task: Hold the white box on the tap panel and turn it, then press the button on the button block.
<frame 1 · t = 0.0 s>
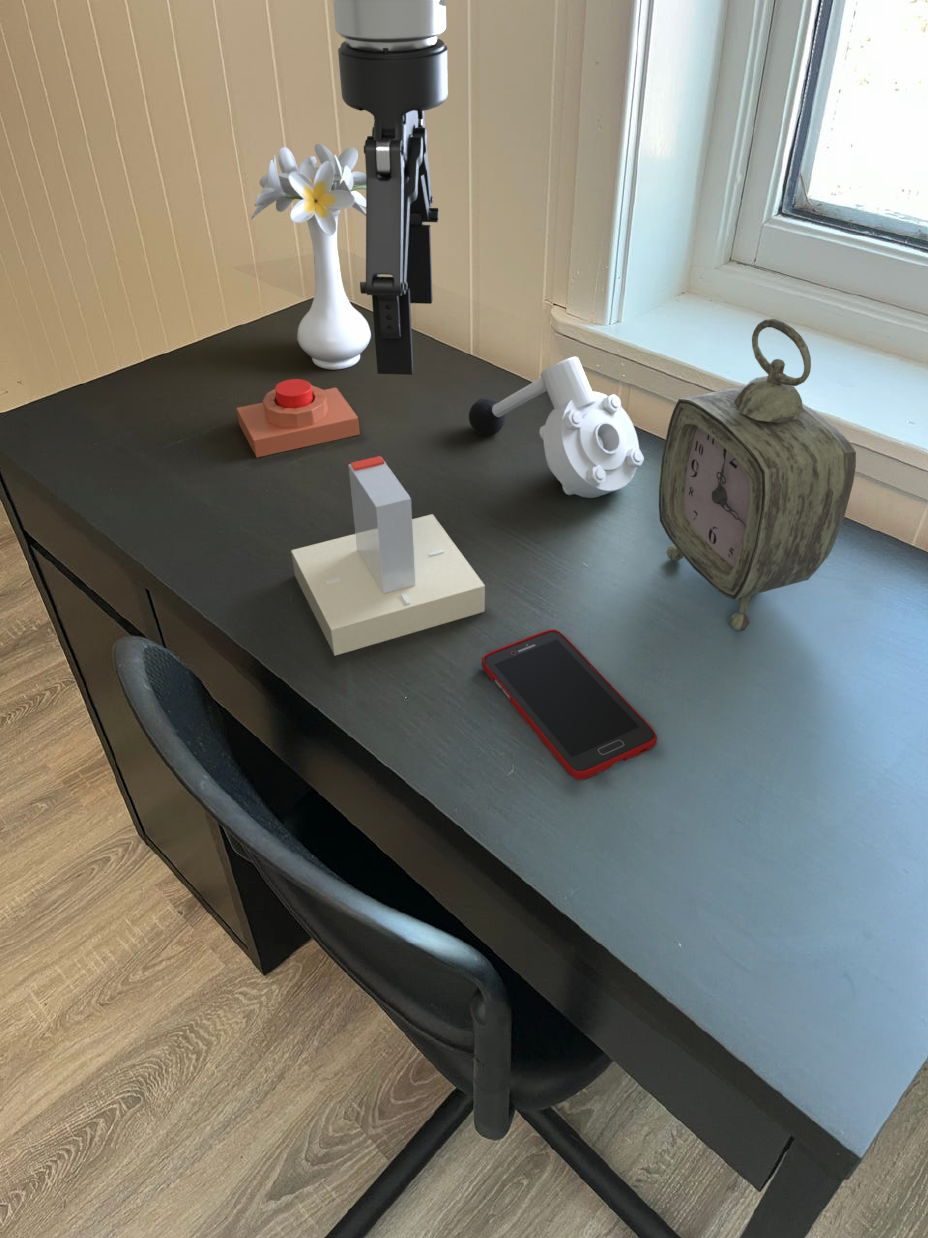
hand: (406, 334, 78), 21 cm above the table, tool pointing down, fingers open, 13 cm apart
flower vase: (338, 358, 123), on the table
button: (294, 394, 106), point 4 cm above the table, slide at 0.1 cm
white box: (382, 524, 81), point 8 cm above the table, hinge at 90.0°
button block: (299, 429, 108), on the table
tabletop clock: (730, 588, 87), on the table
tap panel: (387, 593, 86), on the table
mechanical valve: (541, 464, 103), on the table
cell phone: (564, 705, 75), on the table
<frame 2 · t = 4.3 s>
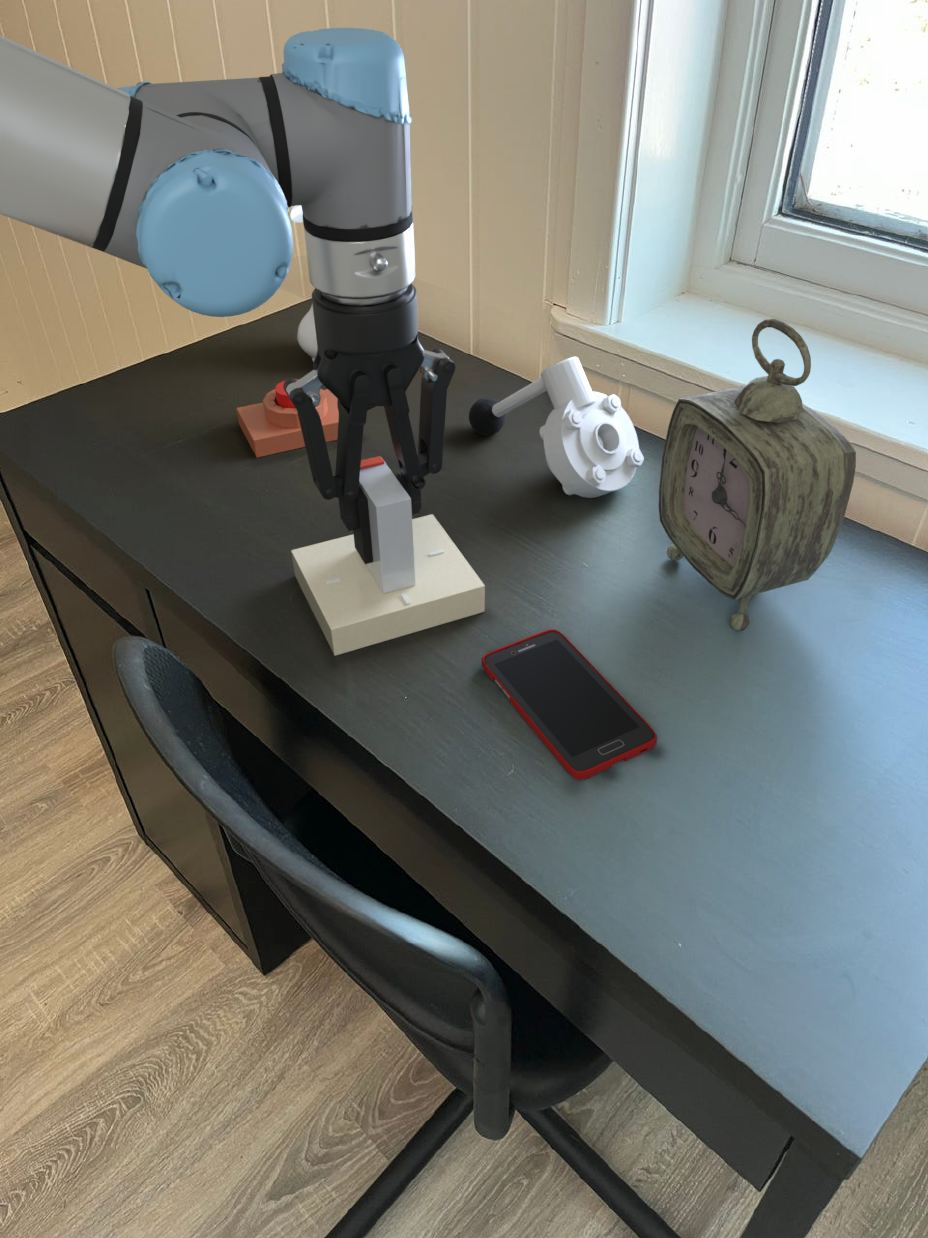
hand: (384, 548, 83), 5 cm above the table, tool pointing down, fingers closed on white box, 3 cm apart
white box: (382, 524, 81), point 8 cm above the table, hinge at 90.0°, touching gripper
everything else where it was.
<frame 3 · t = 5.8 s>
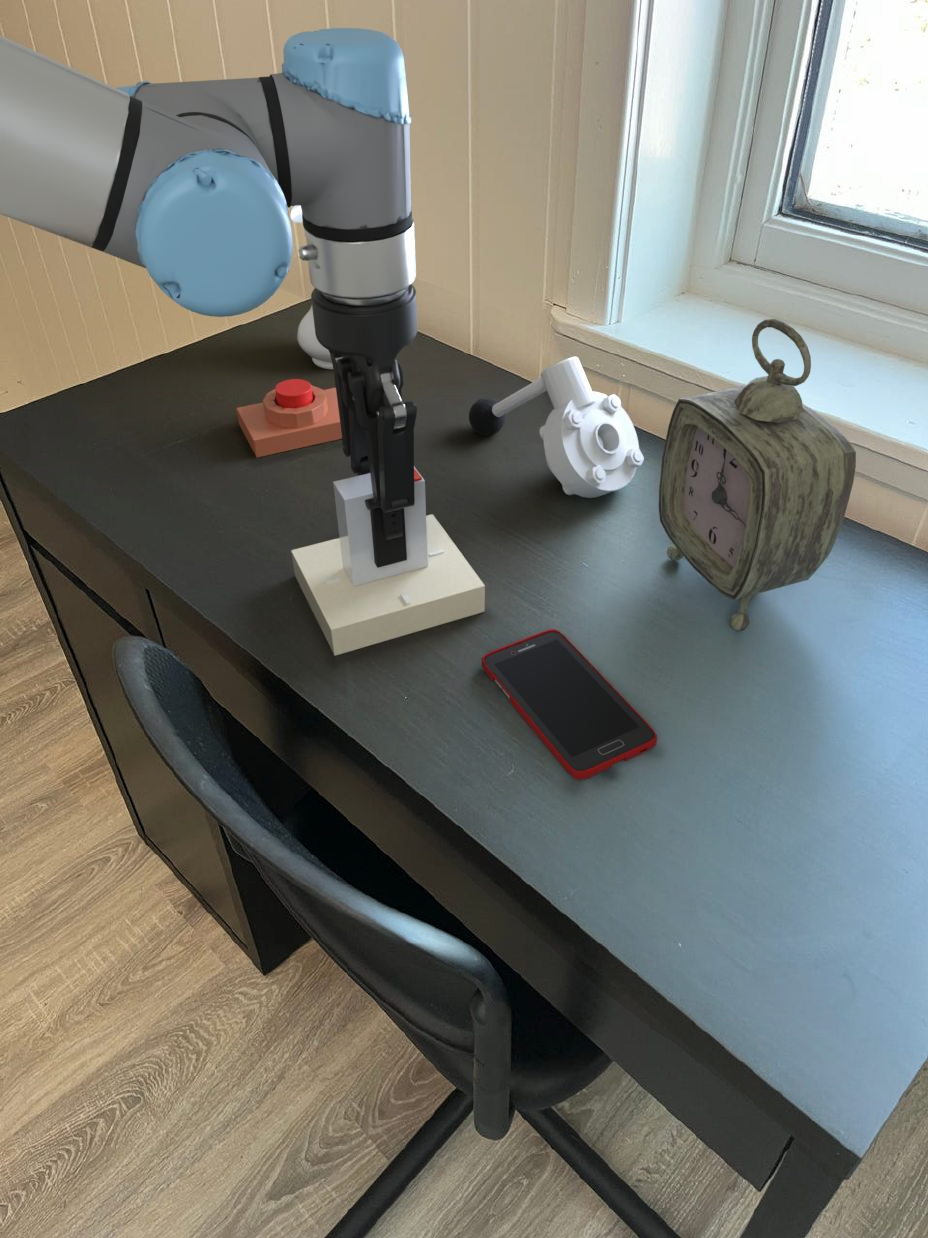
hand: (383, 549, 83), 5 cm above the table, tool pointing down, fingers closed on white box, 3 cm apart
white box: (382, 524, 81), point 8 cm above the table, hinge at 0.0°, touching gripper
everything else where it was.
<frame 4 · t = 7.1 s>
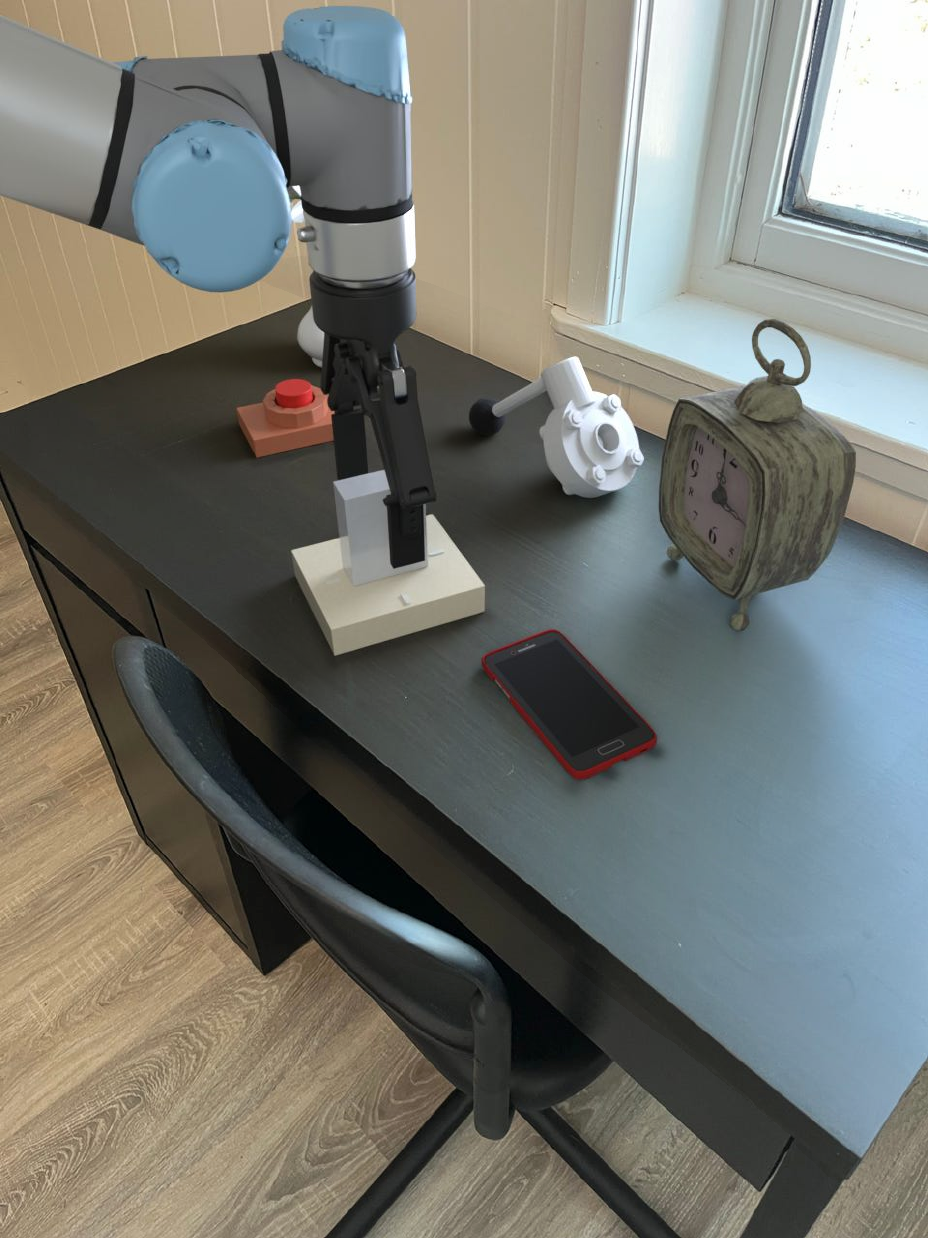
hand: (378, 518, 80), 8 cm above the table, tool pointing down, fingers open, 13 cm apart
white box: (382, 524, 81), point 8 cm above the table, hinge at 0.0°
everything else where it was.
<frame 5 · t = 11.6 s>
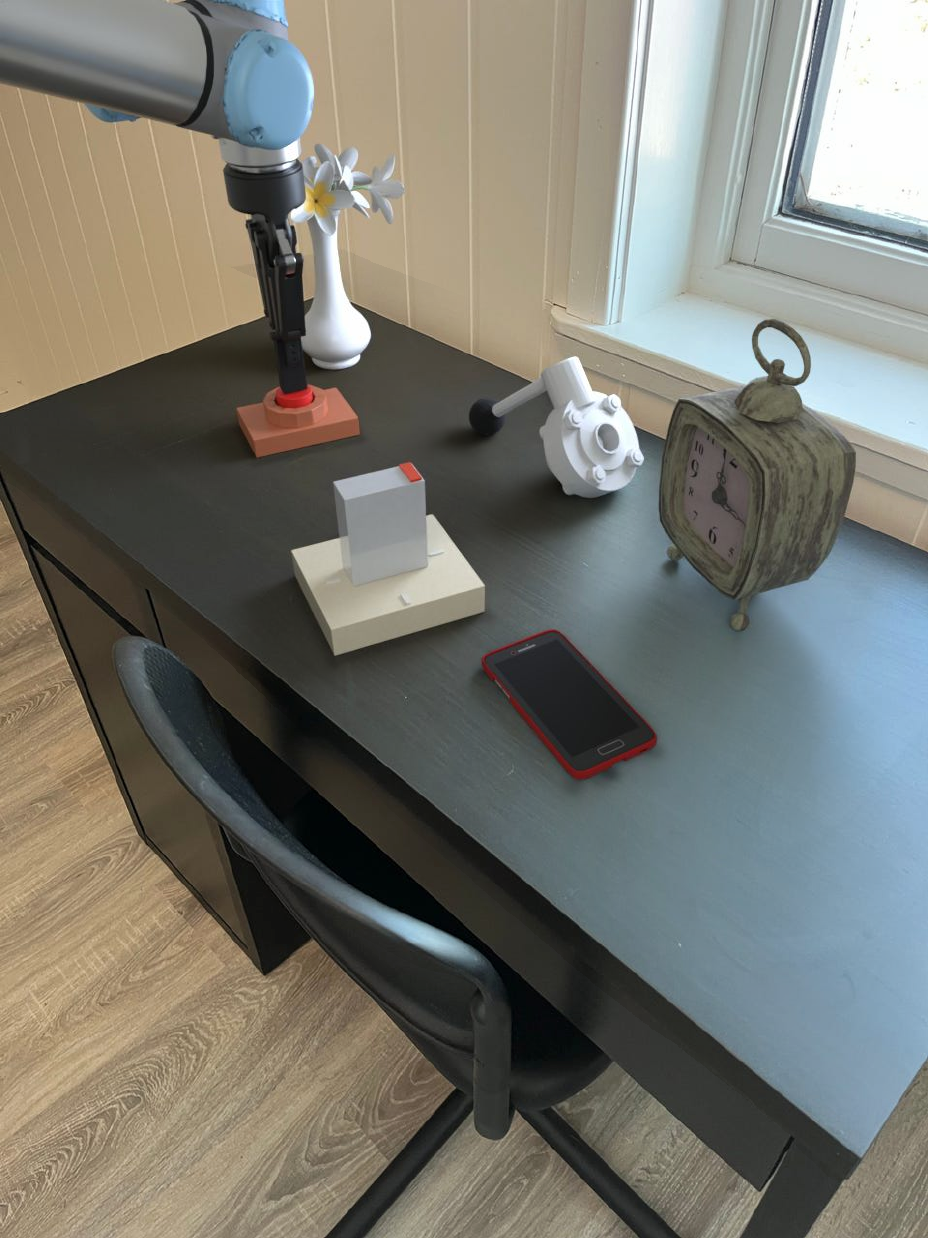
hand: (293, 388, 105), 5 cm above the table, tool pointing down, fingers closed
button: (294, 397, 106), point 4 cm above the table, slide at -0.3 cm, touching gripper
everything else where it was.
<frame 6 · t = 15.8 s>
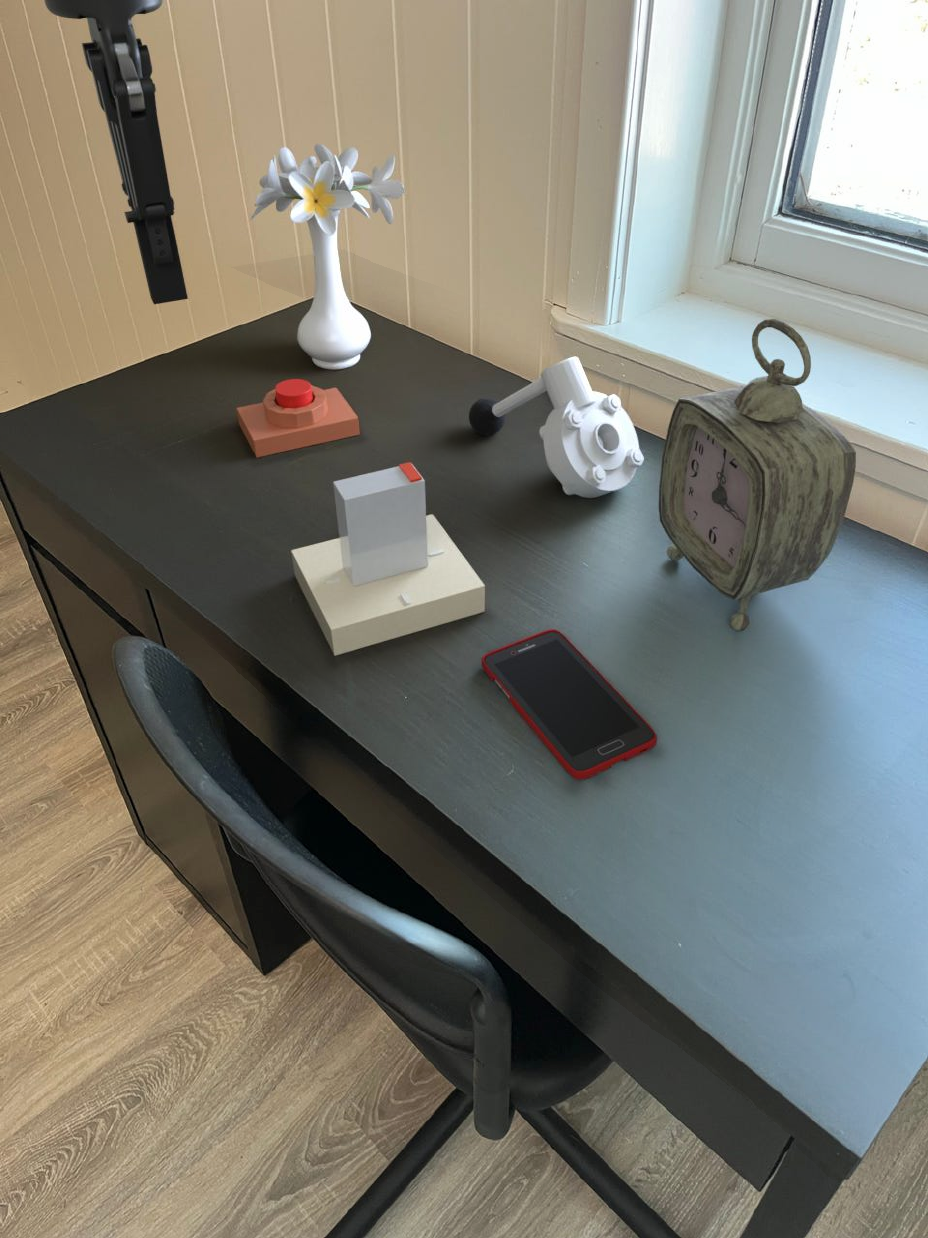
hand: (169, 297, 76), 24 cm above the table, tool pointing down, fingers closed
button: (294, 394, 106), point 4 cm above the table, slide at 0.1 cm
everything else where it was.
at the end: white box at +0° (first picture: +90°); button pushed in 1.0 cm at the most during the clip, back to where it started at the end; button slide at 0.1 cm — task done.
